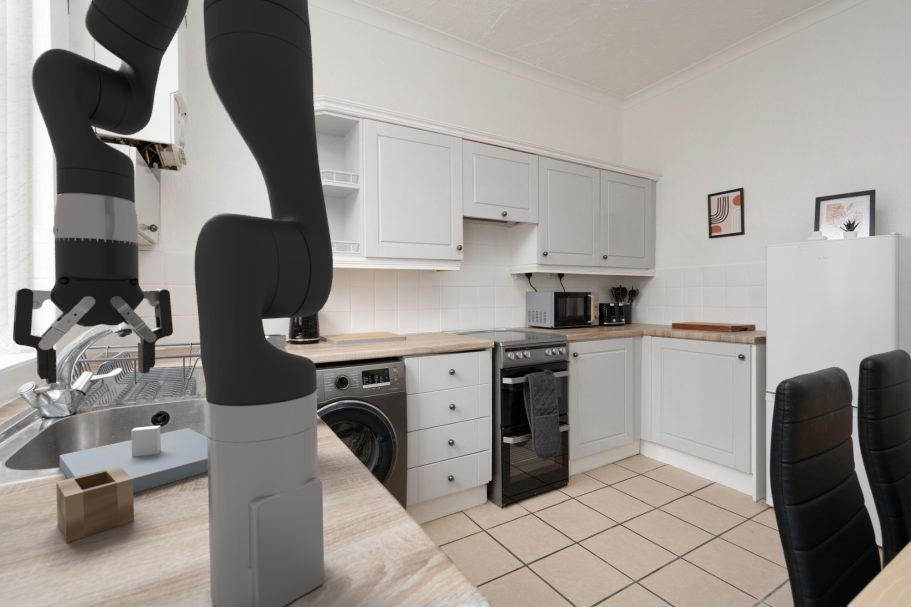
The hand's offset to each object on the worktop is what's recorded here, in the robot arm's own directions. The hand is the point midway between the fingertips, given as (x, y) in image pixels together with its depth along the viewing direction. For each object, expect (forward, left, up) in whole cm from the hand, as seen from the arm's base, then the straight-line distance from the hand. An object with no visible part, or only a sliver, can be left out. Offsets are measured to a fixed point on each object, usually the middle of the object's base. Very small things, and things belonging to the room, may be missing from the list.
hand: (100, 377), depth 51 cm
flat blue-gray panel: (+16, -8, -17) cm, 25 cm away
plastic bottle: (+4, -23, -17) cm, 29 cm away
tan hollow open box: (0, +1, -17) cm, 17 cm away
